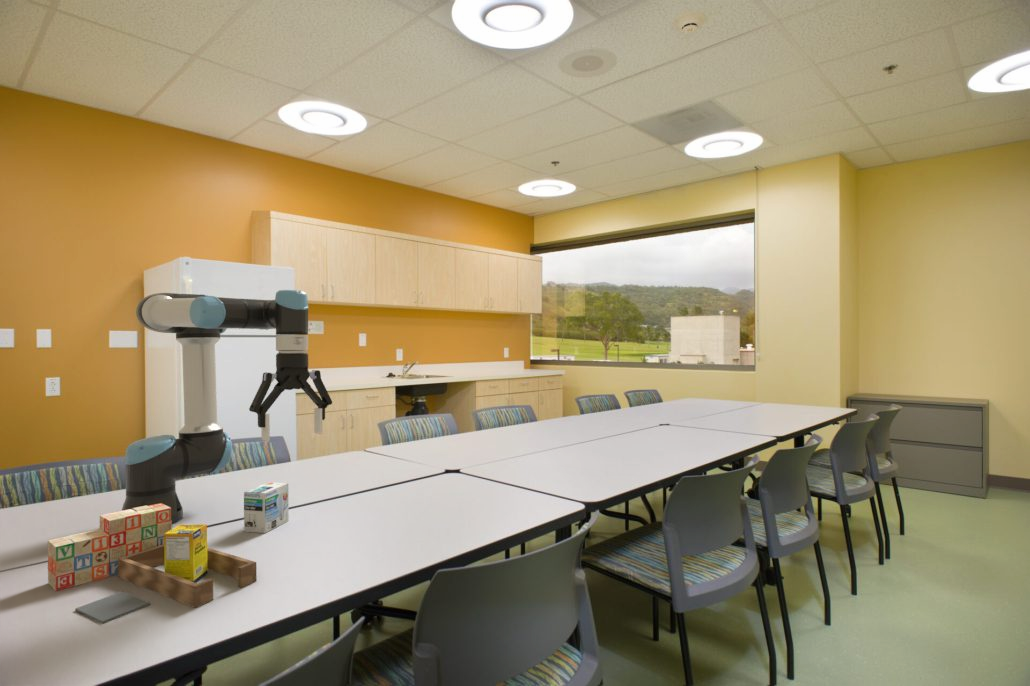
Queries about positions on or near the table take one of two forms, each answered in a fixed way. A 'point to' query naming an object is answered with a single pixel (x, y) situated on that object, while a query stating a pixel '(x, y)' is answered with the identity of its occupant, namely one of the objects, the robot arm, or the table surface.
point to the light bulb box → (266, 507)
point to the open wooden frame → (177, 588)
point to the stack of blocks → (106, 545)
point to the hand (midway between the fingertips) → (292, 436)
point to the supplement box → (186, 551)
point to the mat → (112, 607)
